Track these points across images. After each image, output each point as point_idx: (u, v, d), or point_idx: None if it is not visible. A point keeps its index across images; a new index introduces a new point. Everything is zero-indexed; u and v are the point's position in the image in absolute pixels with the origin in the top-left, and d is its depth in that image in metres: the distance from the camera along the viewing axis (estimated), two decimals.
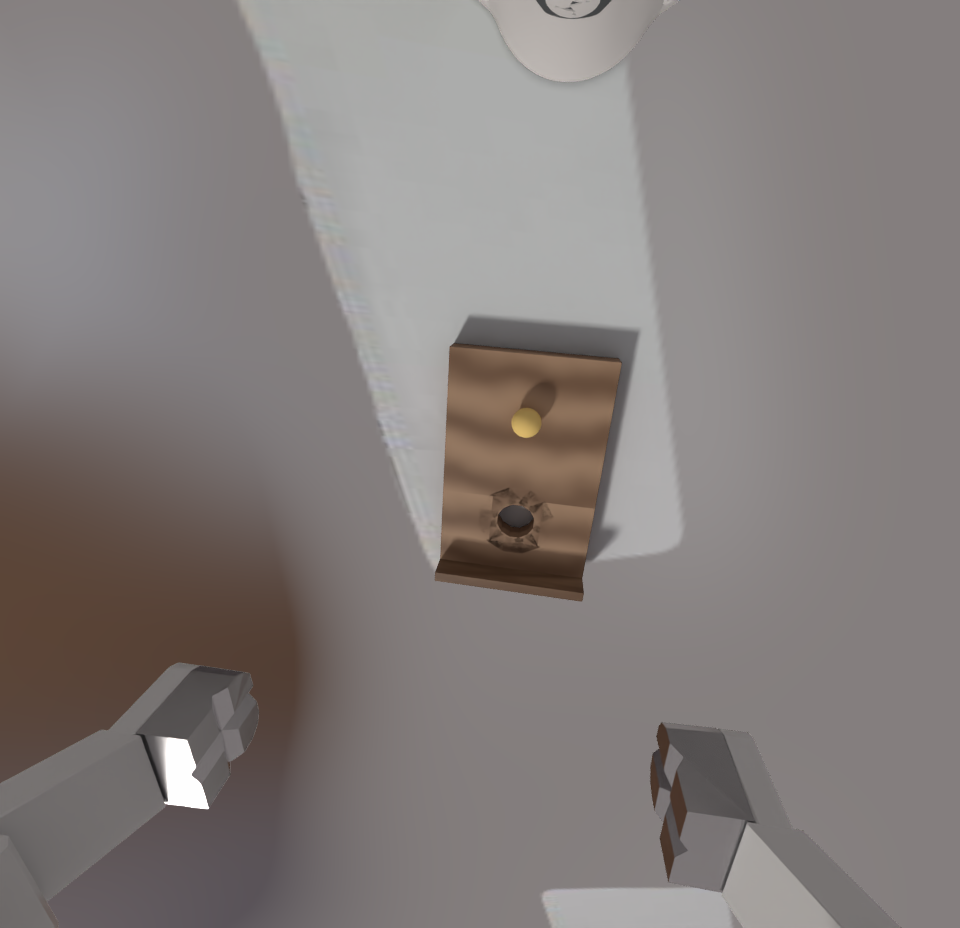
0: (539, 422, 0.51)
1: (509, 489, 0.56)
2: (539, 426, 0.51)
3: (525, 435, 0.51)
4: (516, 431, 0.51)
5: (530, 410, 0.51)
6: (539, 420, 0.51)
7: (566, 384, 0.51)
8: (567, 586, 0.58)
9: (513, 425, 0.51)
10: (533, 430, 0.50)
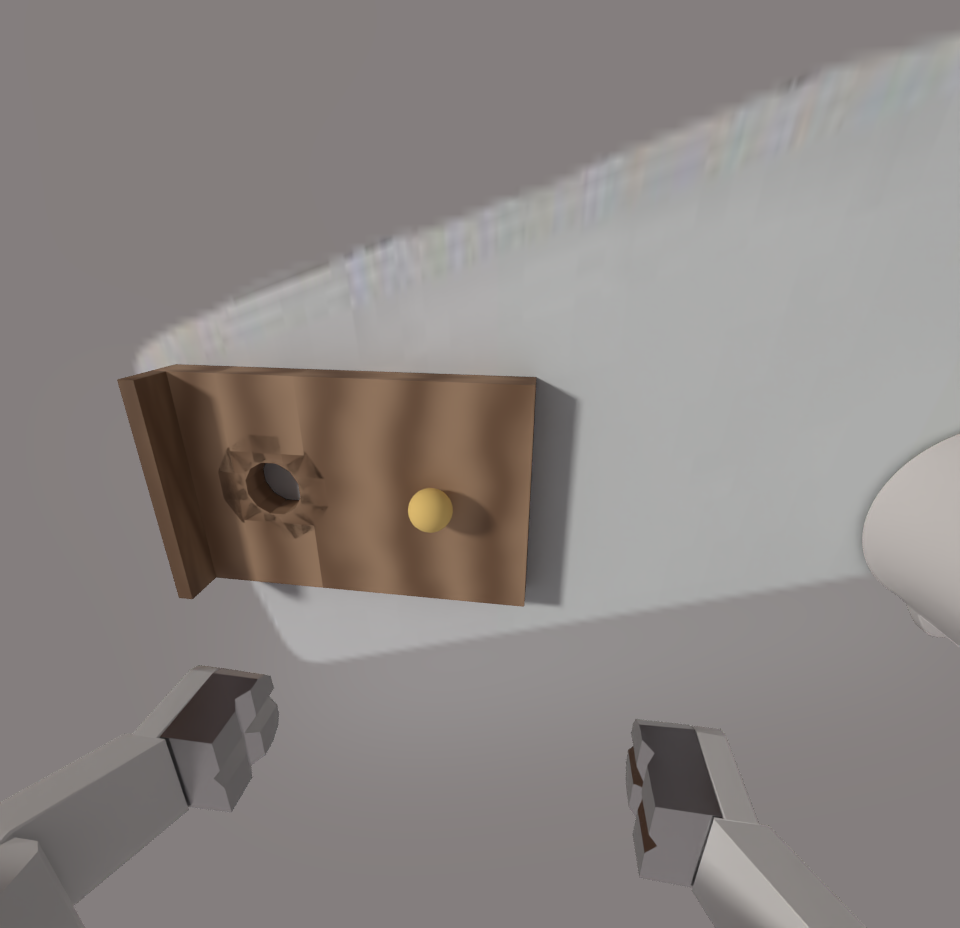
0: None
1: (321, 479, 0.37)
2: (428, 532, 0.34)
3: (412, 518, 0.34)
4: (416, 504, 0.33)
5: (450, 517, 0.34)
6: None
7: (490, 547, 0.37)
8: (195, 573, 0.39)
9: (424, 499, 0.33)
10: (421, 529, 0.34)
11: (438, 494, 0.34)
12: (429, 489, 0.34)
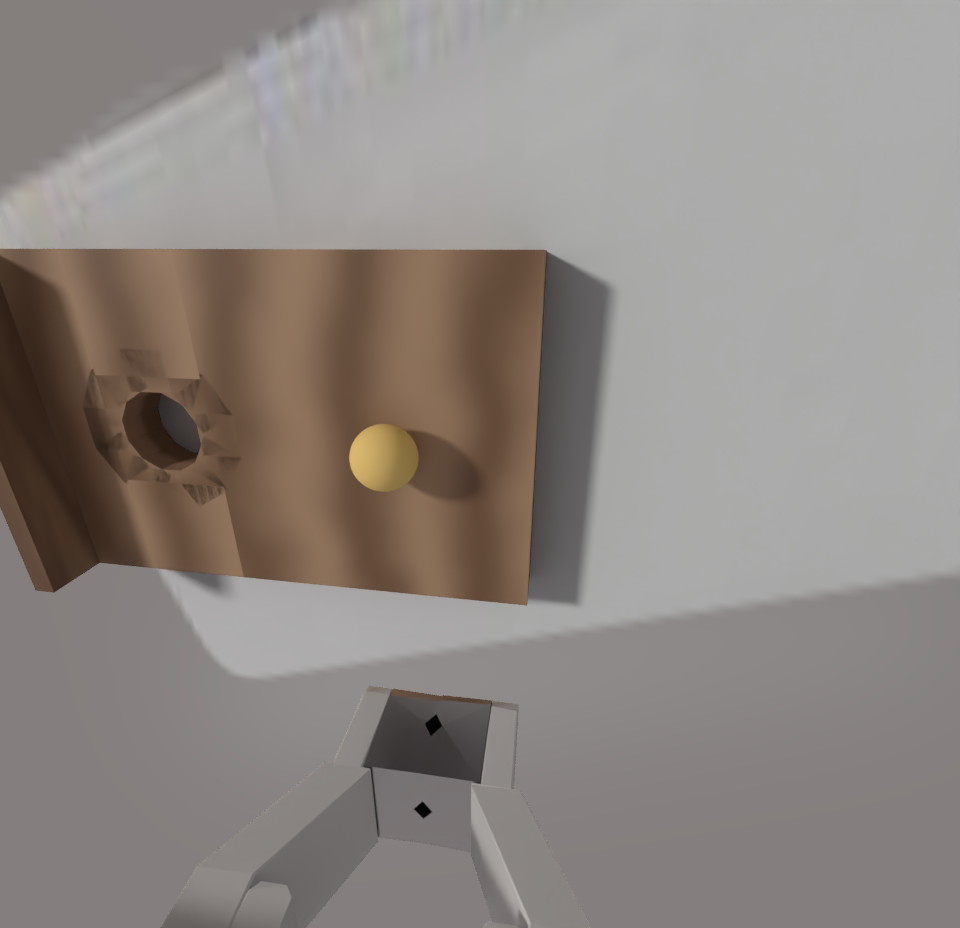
0: (390, 490, 0.22)
1: (228, 416, 0.25)
2: (381, 491, 0.23)
3: (354, 467, 0.22)
4: (359, 446, 0.21)
5: (413, 468, 0.22)
6: (394, 489, 0.23)
7: (477, 517, 0.25)
8: (58, 555, 0.28)
9: (372, 437, 0.21)
10: (368, 485, 0.22)
11: (394, 431, 0.22)
12: (381, 424, 0.22)
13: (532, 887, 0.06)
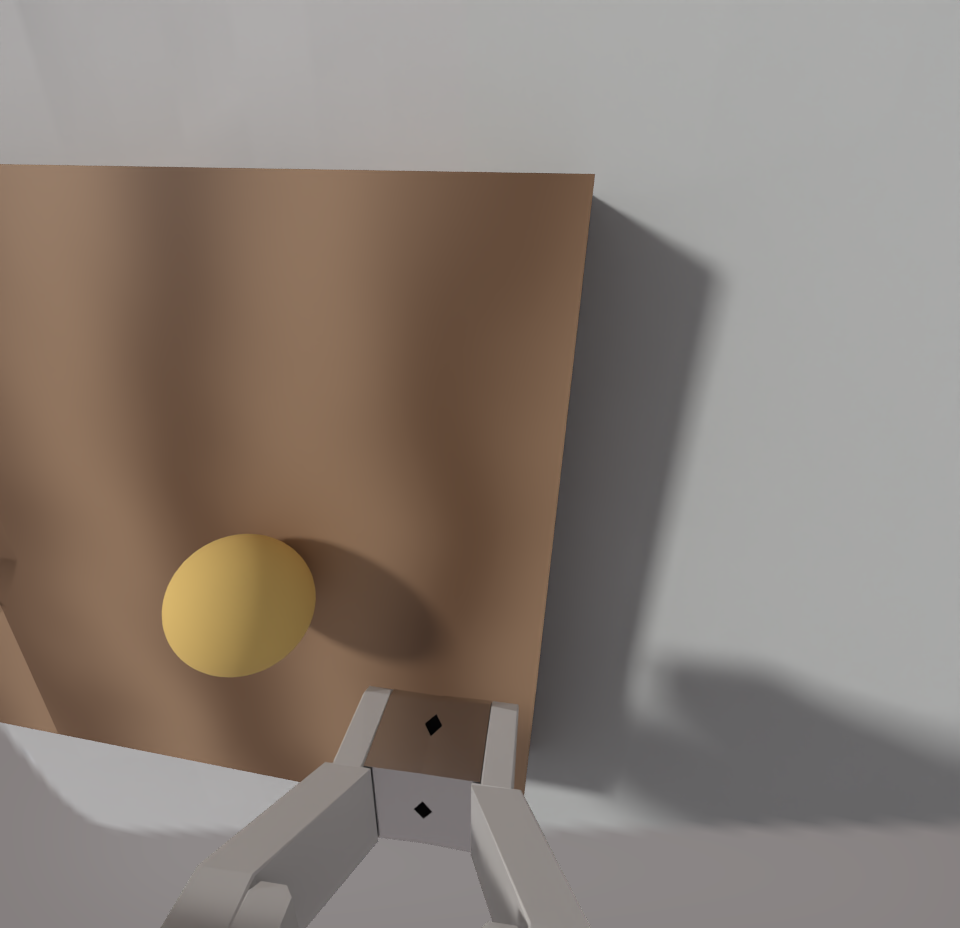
0: None
1: None
2: None
3: None
4: (173, 595, 0.10)
5: (297, 633, 0.11)
6: None
7: (434, 690, 0.14)
8: None
9: (200, 577, 0.10)
10: (197, 670, 0.10)
11: (255, 561, 0.10)
12: (234, 541, 0.11)
13: (532, 887, 0.06)
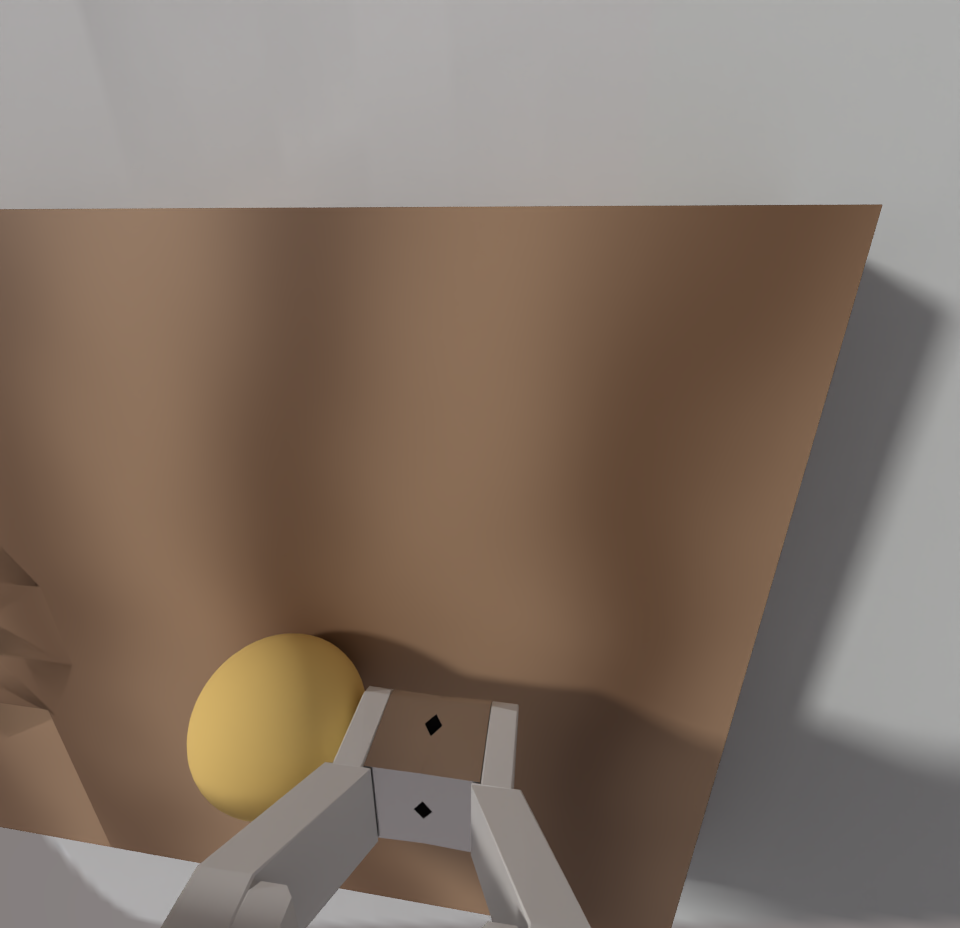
0: None
1: (31, 588, 0.11)
2: None
3: None
4: None
5: (251, 814, 0.08)
6: None
7: (578, 805, 0.11)
8: None
9: (222, 671, 0.09)
10: None
11: (250, 697, 0.08)
12: (278, 654, 0.09)
13: (532, 887, 0.06)
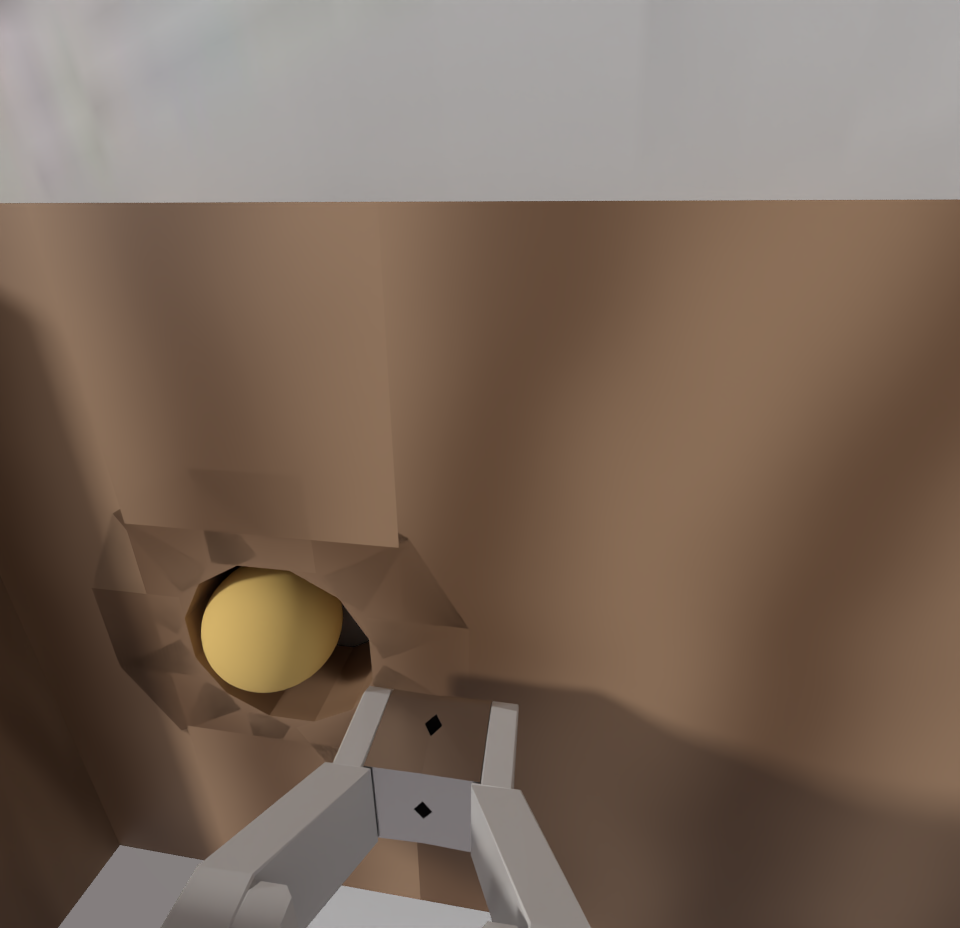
0: None
1: (456, 630, 0.10)
2: None
3: None
4: None
5: None
6: None
7: None
8: (34, 888, 0.13)
9: None
10: None
11: (239, 568, 0.11)
12: (266, 571, 0.11)
13: (532, 887, 0.06)
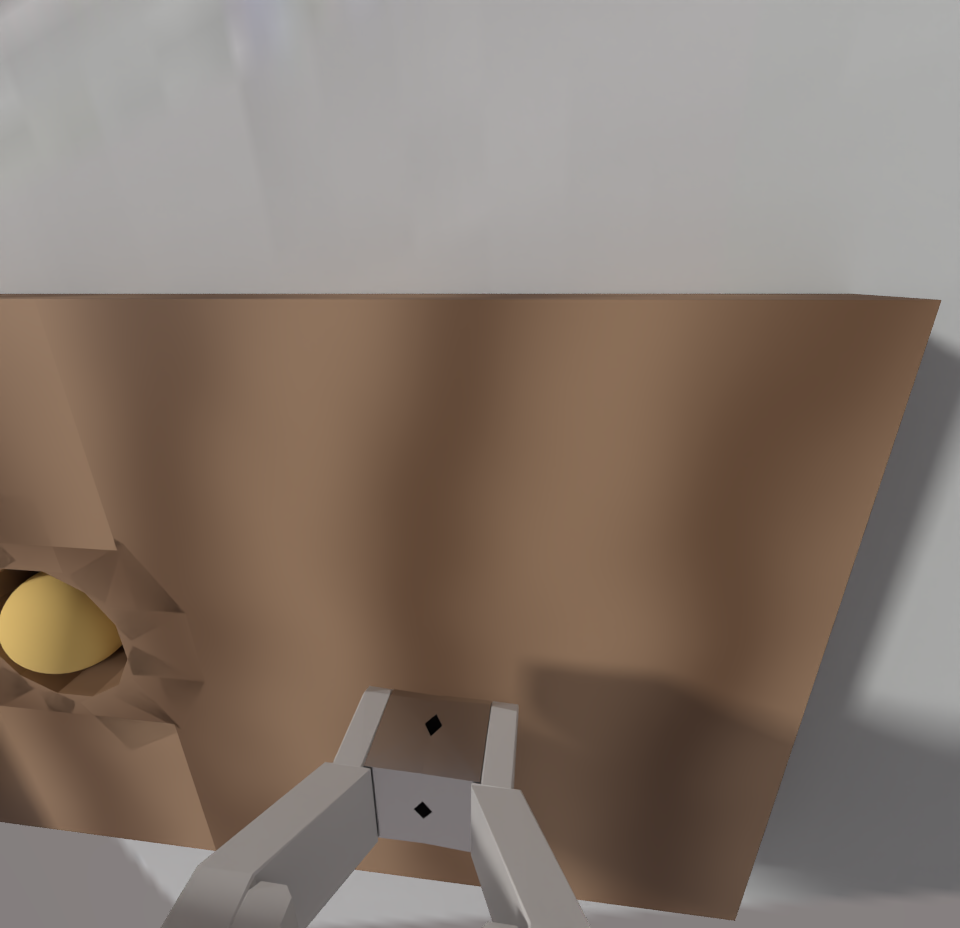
0: None
1: (176, 614, 0.13)
2: None
3: None
4: None
5: None
6: None
7: (663, 793, 0.13)
8: None
9: None
10: None
11: None
12: None
13: (532, 887, 0.06)
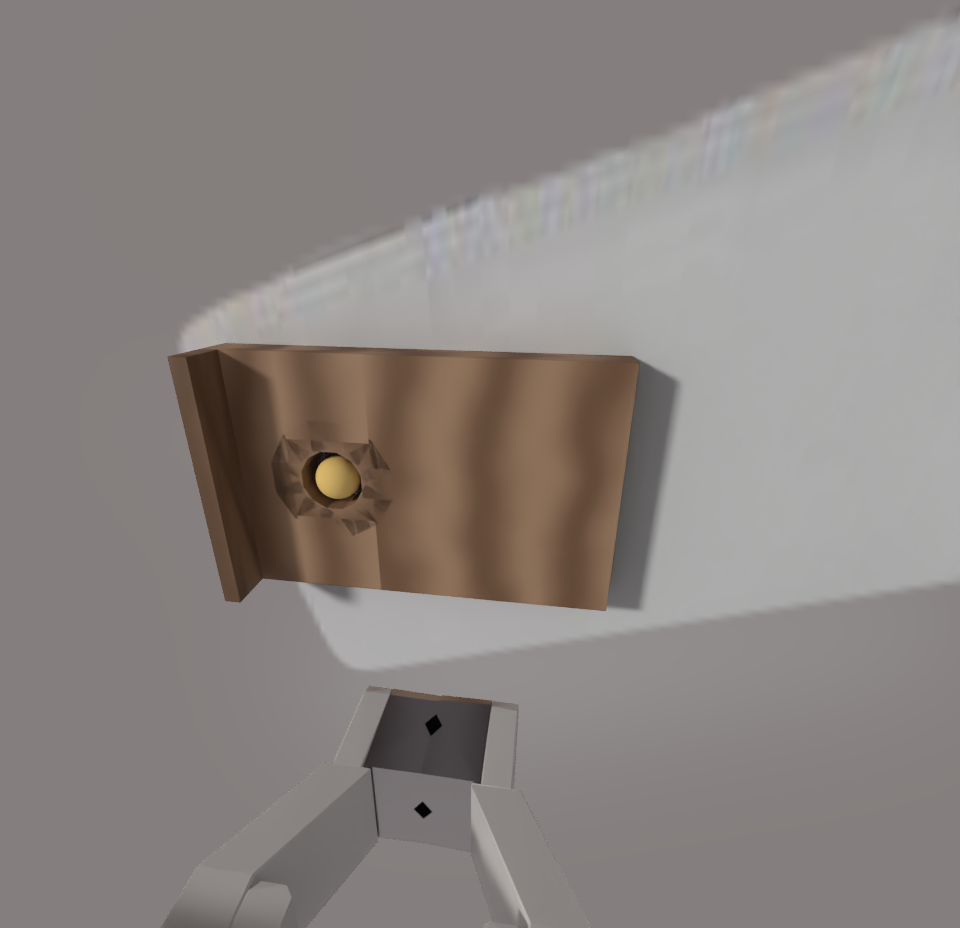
0: None
1: (386, 470, 0.33)
2: None
3: None
4: None
5: None
6: None
7: (572, 545, 0.33)
8: (243, 574, 0.36)
9: None
10: None
11: (326, 459, 0.34)
12: (338, 457, 0.34)
13: (532, 887, 0.06)
